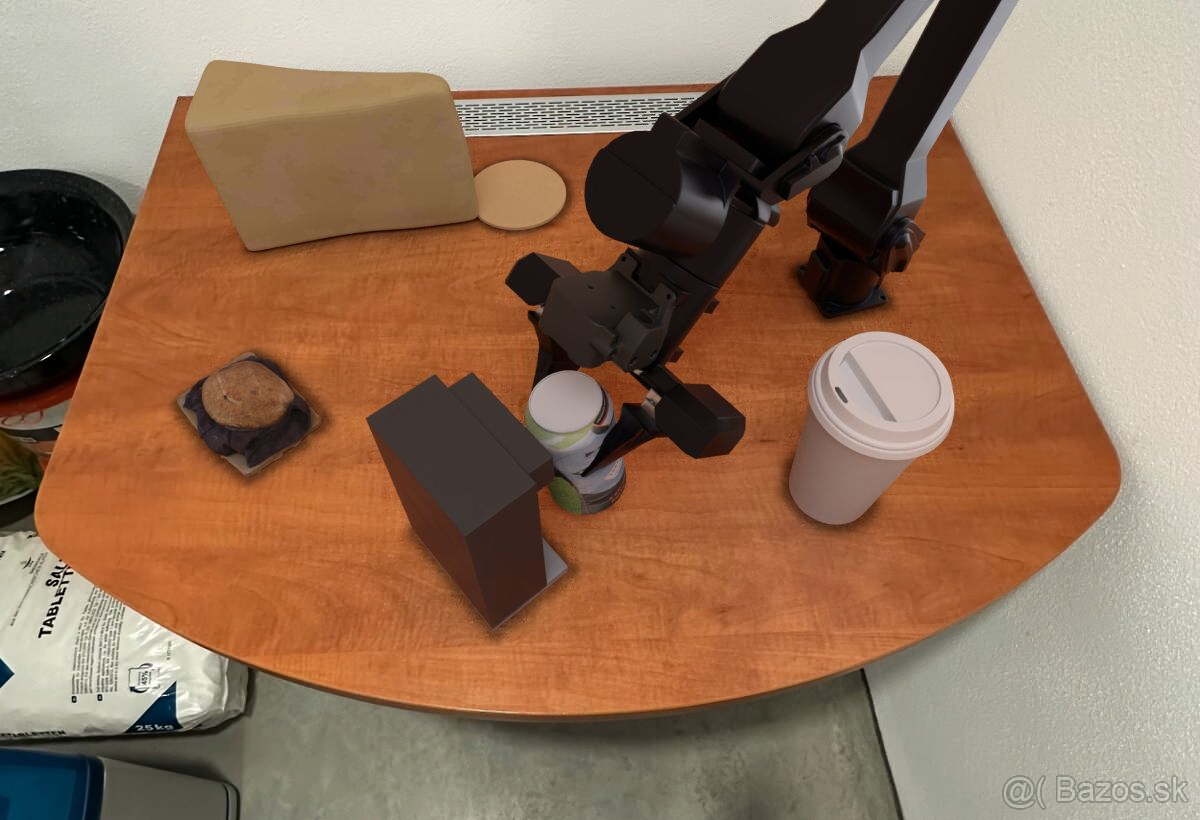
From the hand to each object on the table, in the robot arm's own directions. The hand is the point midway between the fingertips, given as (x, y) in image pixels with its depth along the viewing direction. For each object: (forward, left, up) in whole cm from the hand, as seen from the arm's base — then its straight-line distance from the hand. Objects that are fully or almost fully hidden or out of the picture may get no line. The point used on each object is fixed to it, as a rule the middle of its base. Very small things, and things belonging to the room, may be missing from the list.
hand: (556, 447), depth 56 cm
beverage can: (-2, 0, -7) cm, 7 cm away
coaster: (-6, -34, -8) cm, 36 cm away
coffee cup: (-21, +5, -8) cm, 23 cm away
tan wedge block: (+9, -35, -8) cm, 38 cm away
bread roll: (+22, -15, -8) cm, 28 cm away
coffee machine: (+6, +3, -8) cm, 11 cm away
